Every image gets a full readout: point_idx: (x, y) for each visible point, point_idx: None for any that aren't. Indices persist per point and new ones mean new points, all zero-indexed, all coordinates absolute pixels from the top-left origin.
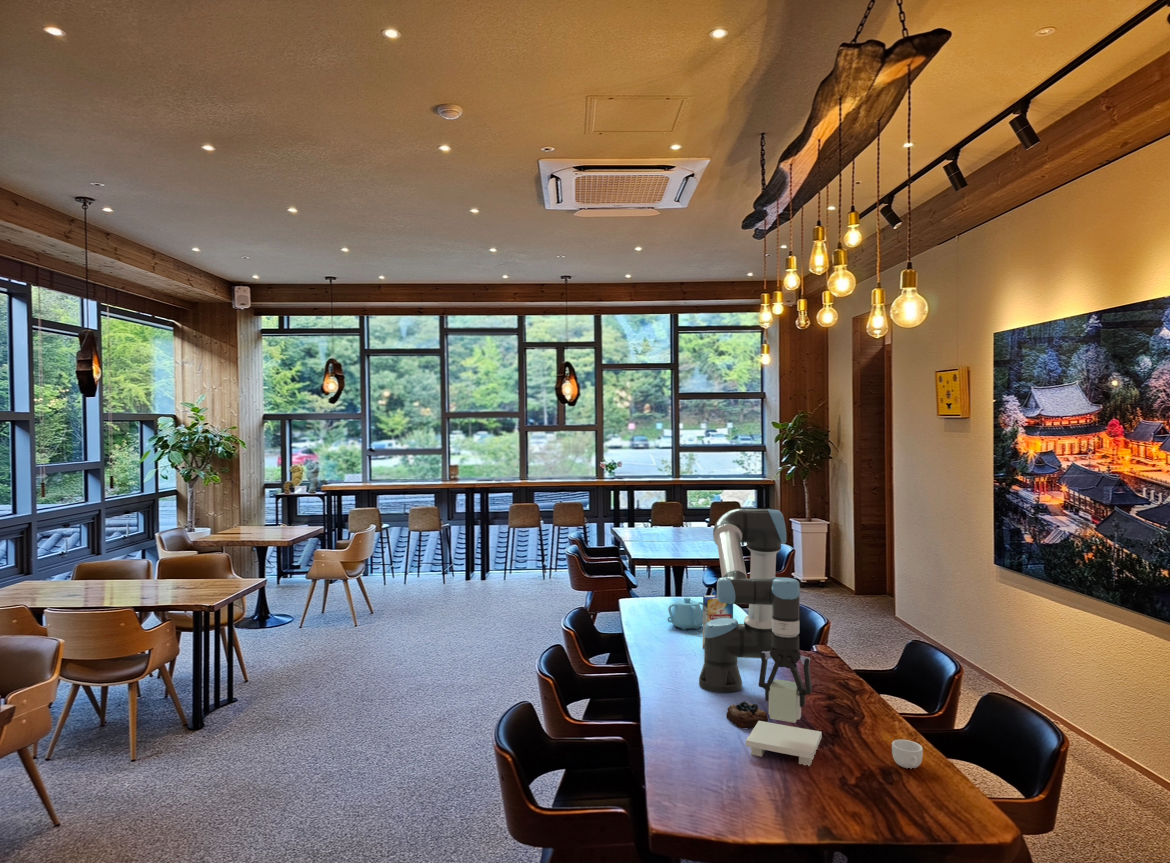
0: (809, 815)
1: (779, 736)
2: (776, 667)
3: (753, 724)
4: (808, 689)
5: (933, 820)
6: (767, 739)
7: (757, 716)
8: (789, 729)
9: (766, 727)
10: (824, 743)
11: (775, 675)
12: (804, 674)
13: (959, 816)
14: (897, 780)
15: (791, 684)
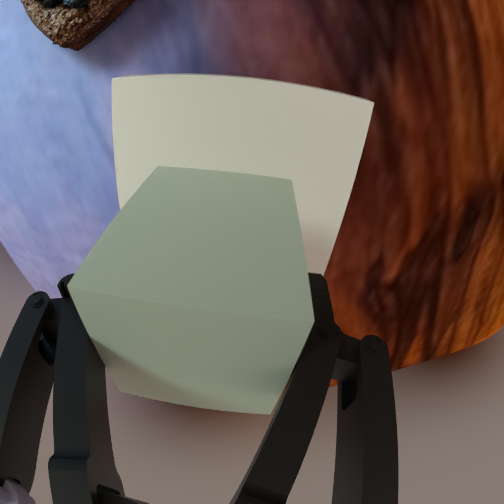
0: (292, 370)
1: None
2: (114, 491)
3: (105, 25)
4: (353, 395)
5: (451, 334)
6: None
7: (104, 3)
8: (241, 115)
9: (151, 131)
10: (366, 57)
11: (86, 384)
12: (335, 488)
13: (484, 315)
14: (474, 244)
15: (234, 364)
